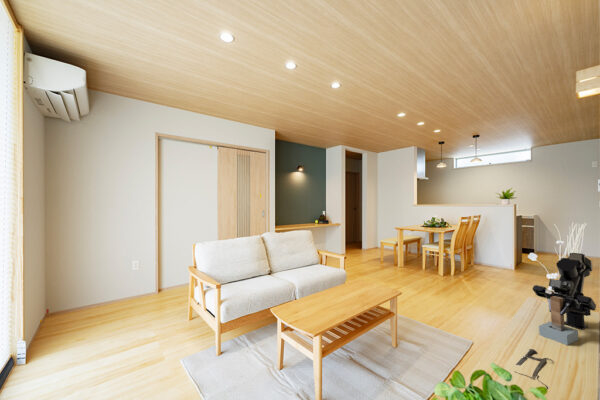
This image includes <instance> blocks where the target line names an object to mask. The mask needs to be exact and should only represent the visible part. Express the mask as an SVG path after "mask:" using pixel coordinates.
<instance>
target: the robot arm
mask: <svg viewBox="0 0 600 400" xmlns="http://www.w3.org/2000/svg"><path fill="white" fill-rule="evenodd" d="M555 266H556V267H557V271H558V274H559V275H560V276H559V278H558V279H554V278H550V279H549V282H548V287H551V288H550V289H551V290H549V289H547V287H546V286H543V285H539V284H538V285H537V284H535V285H533V286H532V291H533V292H534V293H535V295H536V296H537V297H539V298H544V299H547V302H548V308H549V310H548V311H549V312H550V313H551V304H550V297H552V296H556V297H560V298H563V307H562V309H561V312H560V315H561V316H562V315H564V316H565V319H566V320H564V325H565V326H566V325H567V326H570V327H571V328H572V327H573V328H574V329H579V330H584V329H586V328H589V325H588V324H585V323H586V322H585V316H586V317H588V316H591V314H592V312H591V311H596V308H597V304H596V303H595V300H594V299H593V298H592V297H591V296H585V294H584V284H585V278H587V277H589V276H590V275H591V272H593V263H592V260H591V259H589V258H588V257H587V256H586V254H585V253H580V252H569V255H568V257H560V259H558V261H557V262H556V265H555Z"/></svg>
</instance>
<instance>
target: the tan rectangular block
mask: <svg viewBox="0 0 600 400" xmlns="http://www.w3.org/2000/svg"><path fill="white" fill-rule="evenodd" d="M550 304H551V312H550V318H551V319H550V322H551V324H552V328H555V329H558V330H563V329H565V326H566V324H564V322H565V314H564V315H562V316H561V315H560V312H561V309H562V307H563V298H560V297H556V296H552V297H550Z"/></svg>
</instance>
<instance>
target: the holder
mask: <svg viewBox="0 0 600 400" xmlns="http://www.w3.org/2000/svg"><path fill="white" fill-rule="evenodd" d="M538 333H539V334H538V335H539V336H542V337H544V338H547V339H550V340H552V341H555V342H557V343H560V344H564V345H566V346H569V345H572V344H573V343H575V342H577V341H579V330H578V329H576V328H572V327H568V326H566V325H565V329H563V330H558V329H555V328H552V324H551V321H548V322H545V323H542V324H540V325H538Z"/></svg>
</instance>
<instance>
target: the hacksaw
mask: <svg viewBox="0 0 600 400" xmlns="http://www.w3.org/2000/svg"><path fill="white" fill-rule="evenodd" d="M537 353H538V352H537V350H535V349H534V348H529V349H528V352H526V353H525V355H524V356H522V357H523V358H522V357H521V358H520V359H519V360H518V361H517V362H516V363H515V366H522V364H523V363H524V362H525V361H526V360H528V358H529V359H532V360H534V361H539V363H538V364H537V365H536V367H535V369H534V371H533V373H532V376H529V375H527V374H524V373H520V372H517V371H514V373H516V374H518V375H521V376H525V377H527V378H529V379H531V380H533V381H535V380H537V381H538V382H539V383H541V384H542V385H544V386H545V387H546V388H547V389H546V390H549V387H548V385H546V384H544V383H543V382H542V381H541V380H539V377H540V375H538V374H539V373H540V371H541V370H542V368H543V367H545V364H546V363H547V360H550V364H551V363H553V362H554V361H553V360H552V359H551V358H548V357H544V358H543V357H542V358H540V357H535V356H533V355H536V354H537ZM532 354H533V355H532ZM526 357H528V358H526Z"/></svg>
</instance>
